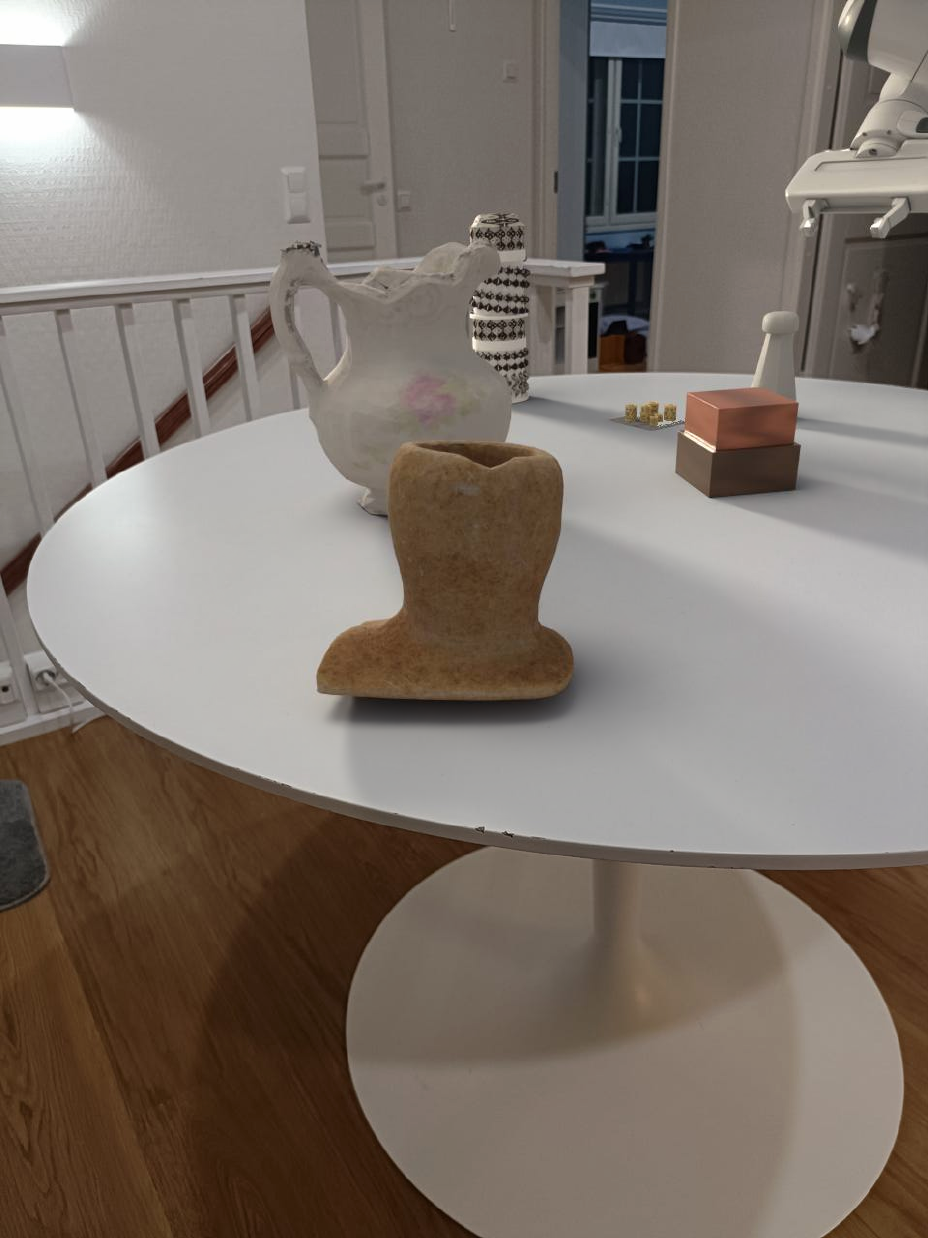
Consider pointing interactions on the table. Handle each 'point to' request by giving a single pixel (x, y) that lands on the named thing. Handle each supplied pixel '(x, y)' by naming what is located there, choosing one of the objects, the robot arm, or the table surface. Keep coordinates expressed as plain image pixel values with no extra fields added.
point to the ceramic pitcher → (395, 360)
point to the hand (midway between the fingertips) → (840, 234)
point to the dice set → (648, 416)
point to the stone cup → (463, 580)
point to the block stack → (738, 442)
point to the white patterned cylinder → (503, 302)
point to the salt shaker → (778, 354)
